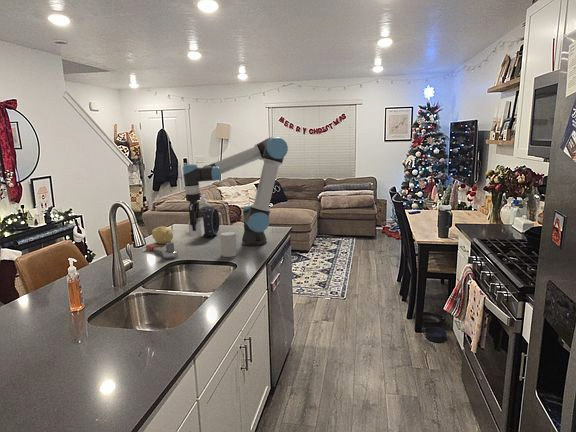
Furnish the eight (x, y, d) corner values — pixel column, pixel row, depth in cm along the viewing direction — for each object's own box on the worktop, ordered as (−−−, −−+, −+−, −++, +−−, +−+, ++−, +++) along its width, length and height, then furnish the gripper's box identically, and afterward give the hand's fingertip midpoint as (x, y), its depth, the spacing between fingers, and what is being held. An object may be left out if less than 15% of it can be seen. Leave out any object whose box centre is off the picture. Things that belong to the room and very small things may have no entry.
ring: (221, 232, 268) (219, 203, 264) (213, 239, 249) (210, 209, 245) (206, 232, 269) (204, 204, 265) (196, 239, 250) (194, 209, 246)
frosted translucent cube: (204, 233, 216) (202, 217, 214) (201, 236, 210) (200, 220, 208) (192, 233, 216) (191, 218, 214) (189, 236, 210) (188, 220, 208)
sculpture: (150, 244, 242) (148, 228, 240) (161, 239, 253) (160, 223, 251) (166, 245, 238) (164, 228, 236) (177, 240, 250) (175, 224, 248)
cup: (220, 254, 215) (218, 233, 213) (233, 251, 219) (232, 231, 217) (224, 257, 208) (223, 236, 206) (238, 255, 212) (237, 234, 210)
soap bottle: (216, 226, 287) (213, 194, 282) (212, 228, 279) (210, 195, 274) (199, 226, 288) (196, 194, 284) (195, 229, 281) (192, 196, 276)
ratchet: (181, 256, 213) (179, 242, 211) (167, 260, 208) (166, 246, 206) (156, 247, 234) (154, 234, 233) (143, 250, 229) (141, 237, 227)
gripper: (190, 191, 218) (194, 230, 222) (180, 196, 199) (185, 239, 203) (203, 190, 218) (207, 230, 222) (195, 195, 199) (199, 238, 203)
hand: (196, 234), depth 213 cm, fingers closed on frosted translucent cube, 7 cm apart
